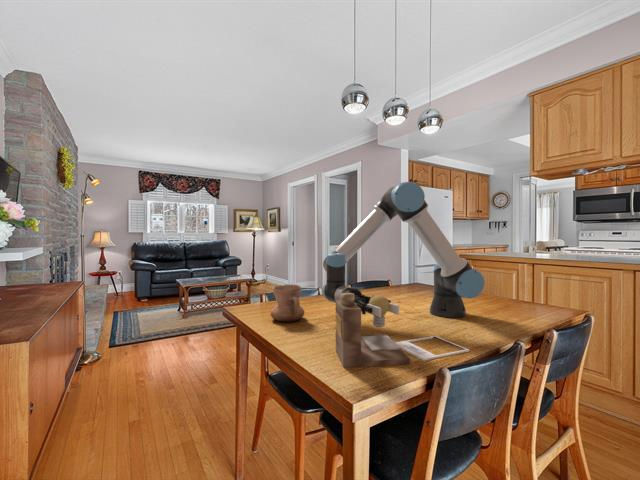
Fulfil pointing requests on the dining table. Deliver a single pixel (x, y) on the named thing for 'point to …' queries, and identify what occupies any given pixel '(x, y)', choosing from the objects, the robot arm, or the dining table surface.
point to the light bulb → (384, 305)
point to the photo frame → (423, 353)
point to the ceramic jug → (287, 303)
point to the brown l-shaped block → (362, 339)
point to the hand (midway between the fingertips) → (389, 311)
